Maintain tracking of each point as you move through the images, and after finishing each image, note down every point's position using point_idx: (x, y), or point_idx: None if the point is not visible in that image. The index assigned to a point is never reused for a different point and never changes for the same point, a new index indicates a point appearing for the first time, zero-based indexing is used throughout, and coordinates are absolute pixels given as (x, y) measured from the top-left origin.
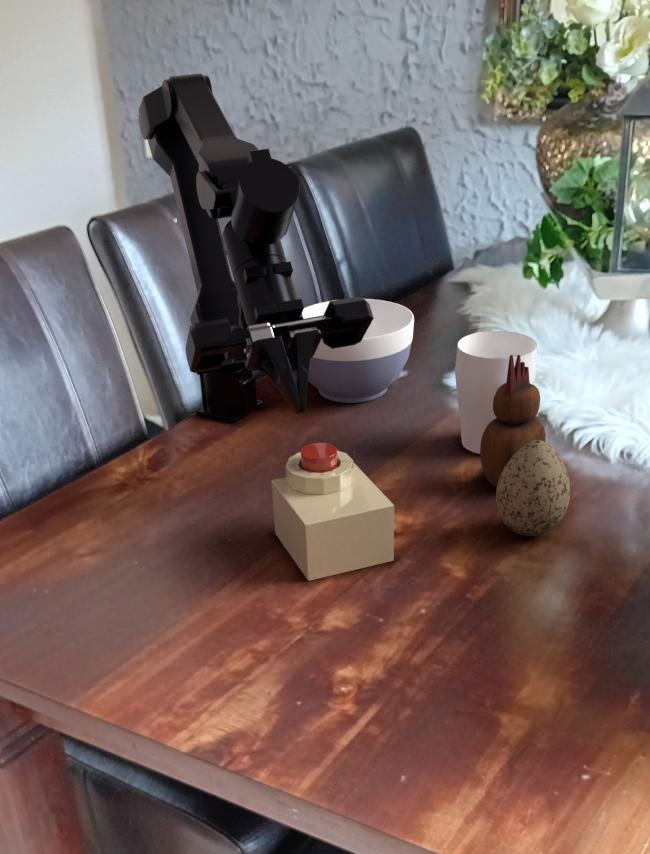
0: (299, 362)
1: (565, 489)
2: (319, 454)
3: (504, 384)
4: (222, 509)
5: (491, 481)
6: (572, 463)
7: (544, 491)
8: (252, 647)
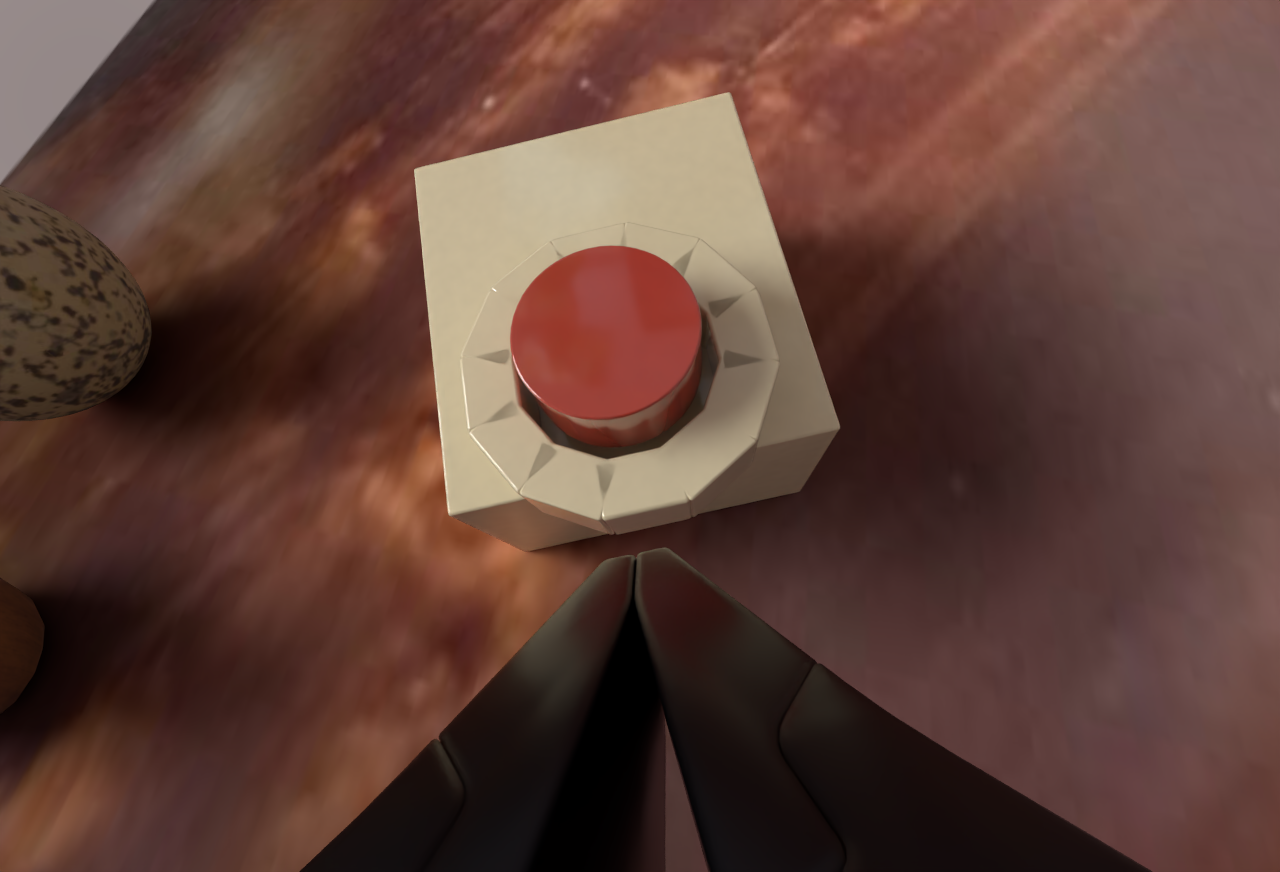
0: (498, 836)
1: None
2: (609, 285)
3: None
4: (1003, 722)
5: (35, 625)
6: None
7: None
8: (875, 25)
